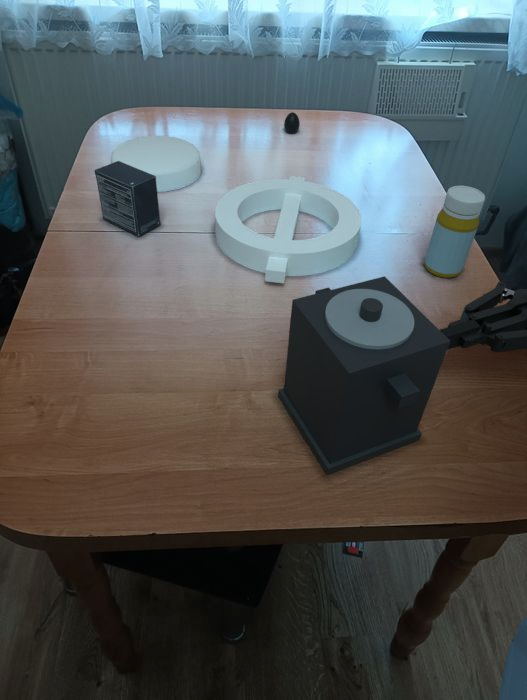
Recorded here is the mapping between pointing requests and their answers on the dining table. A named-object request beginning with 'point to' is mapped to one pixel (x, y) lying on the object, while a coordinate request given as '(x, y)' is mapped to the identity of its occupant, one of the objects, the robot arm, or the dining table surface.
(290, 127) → the egg
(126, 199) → the small box
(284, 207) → the white circle with bar
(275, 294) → the dining table surface
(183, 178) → the white round disc
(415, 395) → the kettle
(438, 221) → the bottle
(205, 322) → the dining table surface
